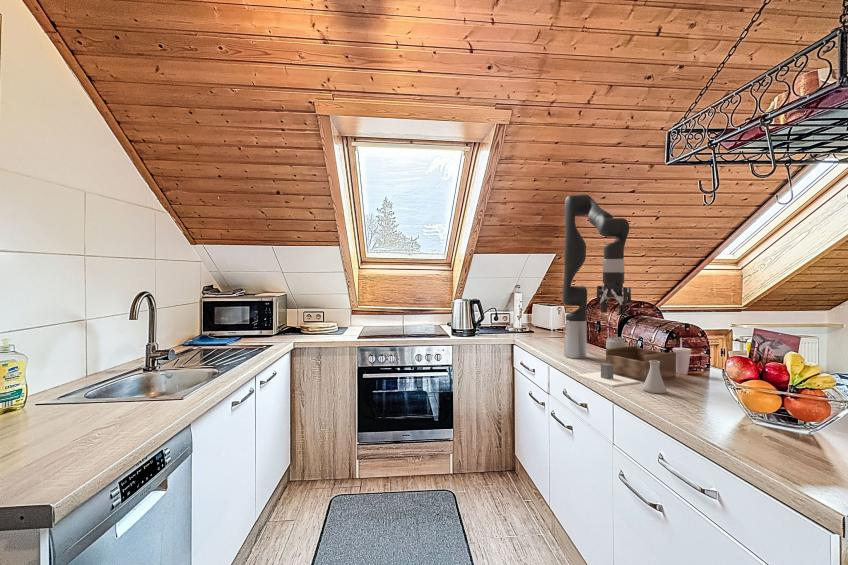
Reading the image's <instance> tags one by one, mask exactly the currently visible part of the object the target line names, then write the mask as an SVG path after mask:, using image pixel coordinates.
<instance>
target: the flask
mask: <svg viewBox="0 0 848 565" xmlns="http://www.w3.org/2000/svg"><path fill="white" fill-rule="evenodd" d="M649 362H650V369H649V373H648V376H647V378H646V381H645V382H643V385H642V387H641V388H642V390H643V391H645V392H647V393H652V394H666V393H668V391H667V388H666V386H665V382H664V380H662V377H661V374H660V369H659V364H660V361H654V360H651V361H649Z"/></svg>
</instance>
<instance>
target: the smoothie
mask: <svg viewBox="0 0 848 565" xmlns="http://www.w3.org/2000/svg"><path fill="white" fill-rule="evenodd" d="M679 340H680V342H679V346H680V347H673V348H672V351H673V352H675V353H676V375H677V374H678V375H684V376H685V375H686V376H687V375H688V373H689V366H690V358H691V353H692V349H691V348H687V347H683V337H680V339H679Z"/></svg>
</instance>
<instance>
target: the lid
mask: <svg viewBox="0 0 848 565" xmlns="http://www.w3.org/2000/svg"><path fill="white" fill-rule="evenodd" d="M576 377H577V378H580V379H583V380H587V381H590V382H593V383H596V384H597V383H598V384H600V385H603V386H607V387H611V388H615V387H622V386H630V385H636V384H640V382H641V381H638V380H634V379H630V378H626V377H622V376H618V375H615V374H613V365H612V364H607V363H606V362H605V363H601V364H600V371H598V372H590V373H589V372H588V373H581V374H576Z"/></svg>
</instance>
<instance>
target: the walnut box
mask: <svg viewBox="0 0 848 565" xmlns="http://www.w3.org/2000/svg"><path fill="white" fill-rule="evenodd" d="M651 360H654V361H660V364H659V369H660V374H661V377H662V380H663V381H666V380H672V378H673V379H676V378H677V373H676V353H675V352H674V351H673V352H672V351H671V352H663V351H656V350H651V349H646V348H640V347H638V345H625V347H615V348H606V347H605V364H606V363H607V364H612V365H613V374H614V375H617V376H621V377H625V378H629V379H633V380H637V381H640V382H642V383H645V381H646V378H647V376H648V373H649V369H650V362H649V361H651ZM665 379H666V380H665Z"/></svg>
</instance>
